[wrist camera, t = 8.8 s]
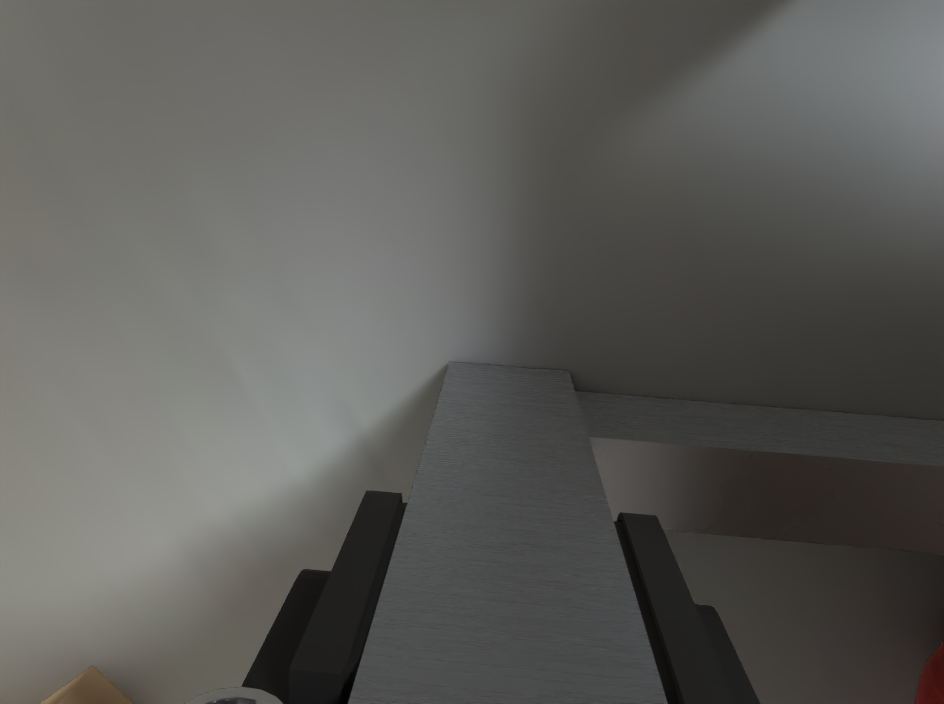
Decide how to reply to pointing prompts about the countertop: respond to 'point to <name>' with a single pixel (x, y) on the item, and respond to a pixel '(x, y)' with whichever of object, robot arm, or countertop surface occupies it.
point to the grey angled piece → (608, 526)
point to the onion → (932, 679)
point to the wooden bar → (88, 691)
